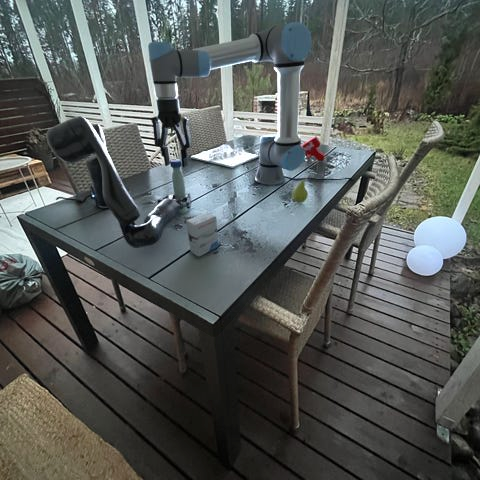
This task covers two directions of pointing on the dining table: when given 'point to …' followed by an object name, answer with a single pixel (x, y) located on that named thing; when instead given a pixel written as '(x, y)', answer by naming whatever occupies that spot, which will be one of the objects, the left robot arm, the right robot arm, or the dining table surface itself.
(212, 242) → the ink box
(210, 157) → the relief map
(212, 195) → the dining table surface
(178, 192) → the bottle
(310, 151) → the toy gun
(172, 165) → the cap
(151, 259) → the dining table surface
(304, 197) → the fruit
